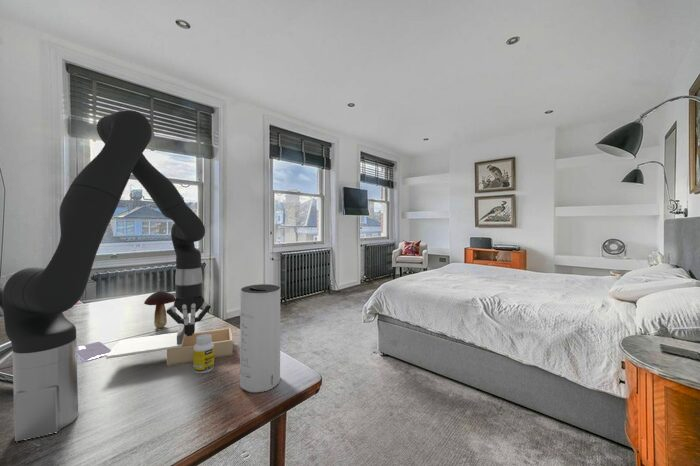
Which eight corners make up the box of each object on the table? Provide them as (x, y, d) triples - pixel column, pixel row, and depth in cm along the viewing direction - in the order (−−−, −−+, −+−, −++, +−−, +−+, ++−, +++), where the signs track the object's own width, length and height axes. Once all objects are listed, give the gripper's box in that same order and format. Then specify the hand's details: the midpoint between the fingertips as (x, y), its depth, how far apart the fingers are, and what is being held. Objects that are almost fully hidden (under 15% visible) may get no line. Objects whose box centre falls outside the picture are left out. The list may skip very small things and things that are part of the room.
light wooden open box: (232, 355, 93) (232, 340, 93) (166, 366, 85) (166, 350, 85) (230, 341, 104) (230, 327, 104) (172, 350, 96) (172, 335, 96)
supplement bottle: (205, 375, 81) (205, 340, 81) (189, 373, 82) (188, 339, 82) (218, 365, 86) (218, 333, 86) (202, 364, 87) (202, 332, 87)
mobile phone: (83, 360, 88) (70, 348, 96) (84, 363, 88) (70, 351, 96) (114, 351, 94) (99, 340, 102) (114, 354, 94) (99, 343, 102)
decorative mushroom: (143, 327, 117) (142, 290, 117) (174, 321, 124) (173, 286, 124) (145, 335, 109) (144, 295, 108) (178, 328, 116) (178, 291, 115)
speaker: (288, 383, 77) (288, 286, 76) (250, 399, 70) (250, 293, 69) (268, 368, 85) (268, 280, 84) (233, 381, 78) (232, 285, 77)
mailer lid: (181, 347, 87) (181, 336, 87) (106, 358, 79) (106, 347, 79) (185, 333, 98) (185, 323, 97) (119, 342, 90) (119, 331, 90)
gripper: (162, 285, 86) (163, 343, 87) (211, 282, 92) (212, 336, 92) (166, 281, 93) (167, 334, 93) (212, 278, 98) (212, 328, 99)
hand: (189, 335), depth 93 cm, fingers closed
